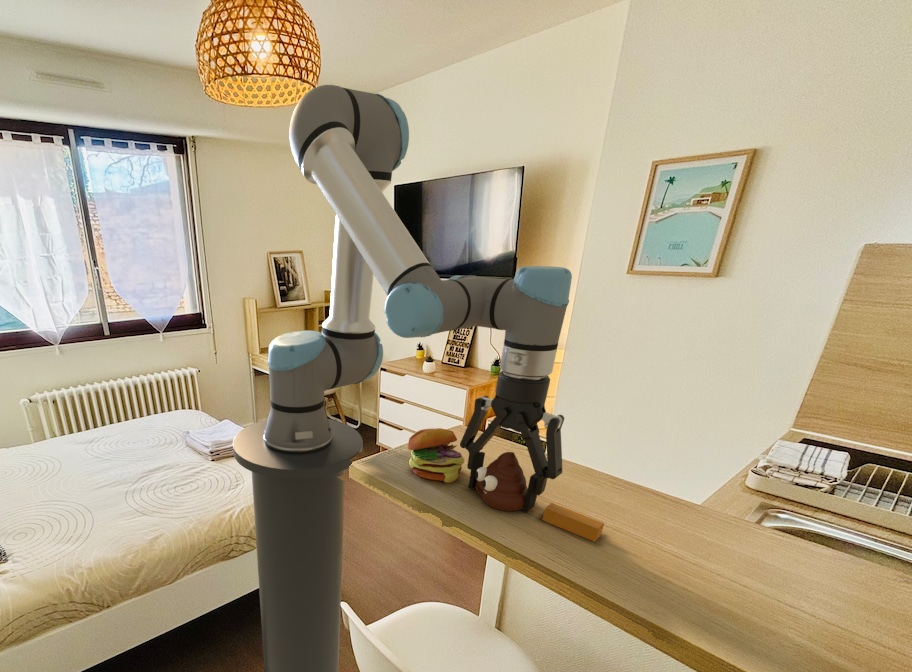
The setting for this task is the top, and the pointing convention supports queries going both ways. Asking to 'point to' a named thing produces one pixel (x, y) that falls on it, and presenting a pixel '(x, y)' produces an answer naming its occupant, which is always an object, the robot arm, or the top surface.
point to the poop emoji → (502, 483)
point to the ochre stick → (573, 522)
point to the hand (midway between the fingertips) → (500, 496)
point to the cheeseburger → (435, 455)
